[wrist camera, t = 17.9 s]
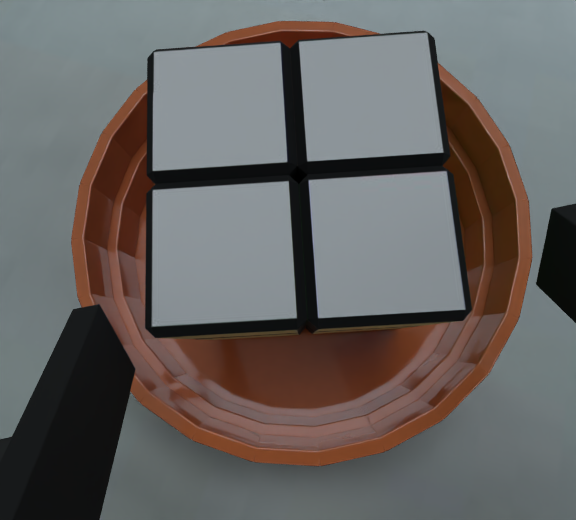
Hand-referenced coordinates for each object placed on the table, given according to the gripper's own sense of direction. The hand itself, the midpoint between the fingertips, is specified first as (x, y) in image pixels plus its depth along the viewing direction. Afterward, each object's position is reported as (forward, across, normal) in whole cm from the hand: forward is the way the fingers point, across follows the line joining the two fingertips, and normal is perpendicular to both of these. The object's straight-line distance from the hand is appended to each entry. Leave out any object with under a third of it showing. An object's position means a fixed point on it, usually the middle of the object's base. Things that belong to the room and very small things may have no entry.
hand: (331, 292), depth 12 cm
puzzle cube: (+10, 0, -4) cm, 11 cm away
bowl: (+10, 0, -5) cm, 12 cm away
